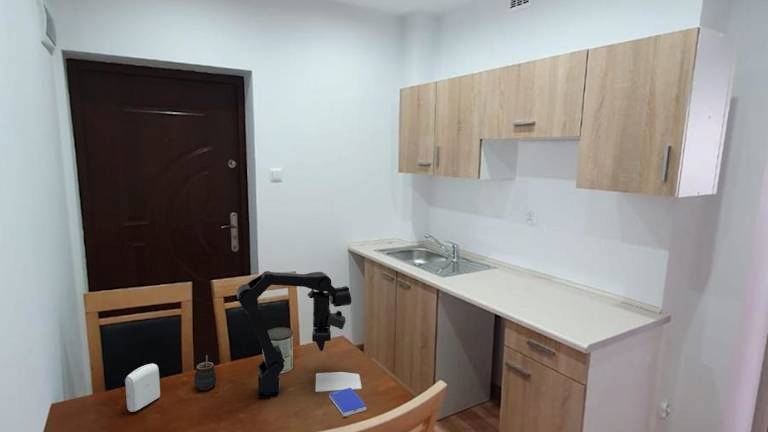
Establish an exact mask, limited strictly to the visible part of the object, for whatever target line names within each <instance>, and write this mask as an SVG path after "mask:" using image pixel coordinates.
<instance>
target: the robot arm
mask: <svg viewBox="0 0 768 432" xmlns="http://www.w3.org/2000/svg"><path fill="white" fill-rule="evenodd" d="M270 286H283V287H286V286H287V287H301V288H302V287H303V288H307V289H310V291H309V292H307V296H308V298H309V299H313V303H312V305H313V306H312V307H313V308H312V309H313V312H312V316H313V317H312V327H313V329H312V334H311V337H312V338H311V341H312V342H313V343H316V345H317V347H318V350H319V351H320V352H323V351H324V348H325V343H326V342H330V341H332V340H331V339H332V334H331V333H332V332H331V327H334V328H338V329H339V330H344V327H345V324H346V321H347V320H346V317H345V316H344V315H343V313H342V311H341V310H336V311H335V313H334V312H333V313H332V312H331V309H330V305H332V306H333V307H334V308H338V307H344V306H345V307H346V306H350V305H351V304H352V295H351V291H350V288H349V286H347V285H346V286H345V285H344V286H342V287H334V286H333V285H332V280H331V278H330V277H329V276H328V275H327V274H326V273H325V272H323V271H315V272H308V273H293V272H292V273H290V272H276V271H268V270H266V271H264V272H262V273H261V274H260V275H259V276H257V277H254V278H253V279H251V280H250V281H249V282H247V283H244V284H241V285H240V286H239V287H238V288H237V289H236V297H237V300H238V302H239V304H240V306H241V307H242V309H243V310H244V311H245V313H246V314H247V316H248V317H249V319H250V322H251V325H252V327H253V329H254V332H255V335H256V337H257V339H258V341H259V344H260V347H261V350H262V351H261V352H262V357H263V360H262V361H261V363H260V364H258V366H257V369H258V373H259V374H258V378H257V384H258V386H257V388H258V389H257V392H258V394H257V397H256V398H257V399H271V398H277V397H278V394H279V393H280V390H281V378H280V377H279V376H280V374H281V373H280V372H281V371H282V370H283V368H284V363H283V362H285V360H284V357H283V355H282V353H281V350H280V348H279V345H276V346H274V345H273V344H272V342H271V339H270V337H269V334H268V332H267V331H268V329H267V328H266V325H265V322H264V319H263V317H262V314H261V312H260V307H259V300H258V298H259V297H261V296H262V295H263V294H264V292H265V291H266V290H267V289H268V288H269V287H270Z"/></svg>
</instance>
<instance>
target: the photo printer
mask: <svg viewBox="0 0 768 432" xmlns="http://www.w3.org/2000/svg"><path fill="white" fill-rule="evenodd" d="M159 370H160V369H159V366H158V365H157V364H155V363H149V364H148V363H147V364H145V365H142V366H140V367H138V368H136V369H134V370H133V371H132V372H130V373H129V374H128V375H127V376H126V378H125V379H124V383H125V395H126V398H125V399H126V408H127V410H128V411H129V412H131V413H134V412H137V411H139V410H141V409H142V408H144V407H146V406H147V405H149V404H151V403H152V402H155V400H158V398H160V396H161V384H160V371H159Z"/></svg>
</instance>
